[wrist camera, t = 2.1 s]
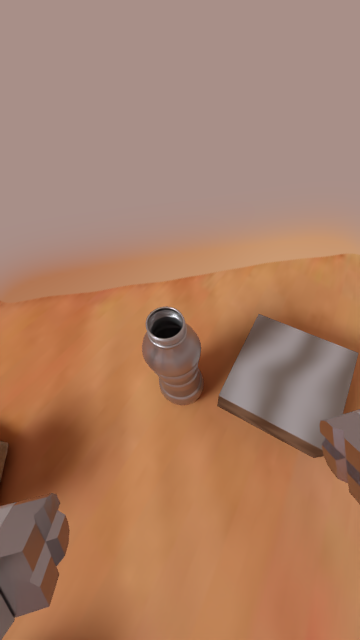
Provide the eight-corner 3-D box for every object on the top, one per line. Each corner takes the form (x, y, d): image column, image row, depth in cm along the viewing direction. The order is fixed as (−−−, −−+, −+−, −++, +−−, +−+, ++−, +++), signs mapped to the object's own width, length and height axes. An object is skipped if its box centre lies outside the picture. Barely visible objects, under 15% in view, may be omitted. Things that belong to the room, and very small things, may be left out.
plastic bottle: (187, 417, 39) (172, 370, 21) (153, 391, 41) (115, 329, 24) (212, 383, 41) (215, 315, 24) (178, 359, 43) (159, 283, 26)
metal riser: (339, 368, 40) (358, 353, 35) (313, 457, 34) (332, 454, 29) (252, 332, 45) (258, 313, 40) (217, 405, 39) (218, 395, 34)
